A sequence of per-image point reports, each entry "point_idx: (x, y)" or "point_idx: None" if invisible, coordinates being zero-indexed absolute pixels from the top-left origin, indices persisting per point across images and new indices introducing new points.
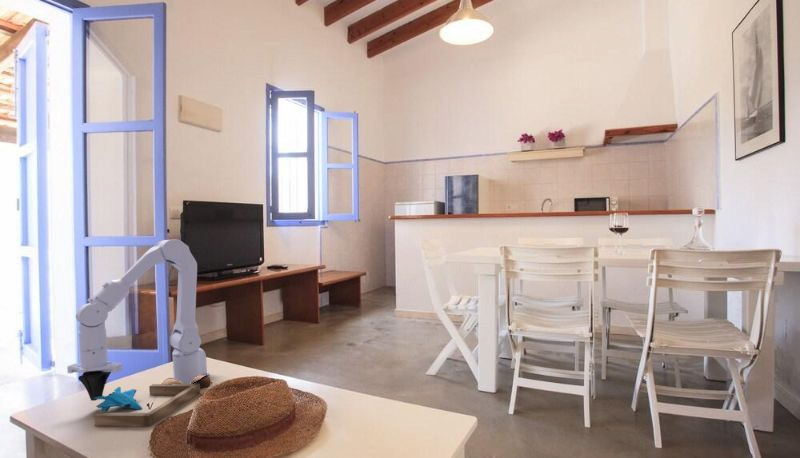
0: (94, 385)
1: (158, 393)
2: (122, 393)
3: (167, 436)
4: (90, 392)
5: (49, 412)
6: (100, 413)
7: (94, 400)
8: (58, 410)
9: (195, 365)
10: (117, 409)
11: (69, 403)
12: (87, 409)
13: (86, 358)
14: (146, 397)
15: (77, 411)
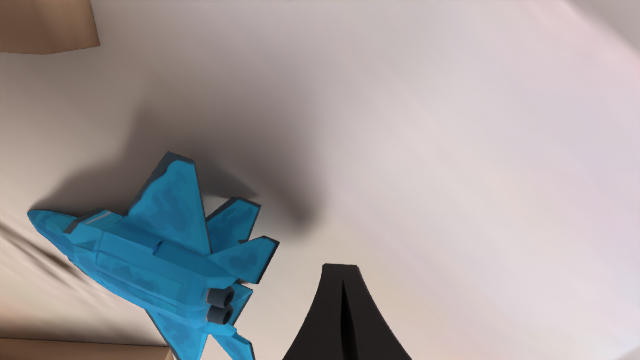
0: (291, 352)
1: (118, 351)
2: (169, 315)
3: None
4: (349, 303)
5: (608, 211)
6: (13, 35)
7: (331, 264)
8: (565, 230)
9: None
10: None
11: (555, 299)
12: (382, 231)
13: None
14: None
15: (426, 212)
